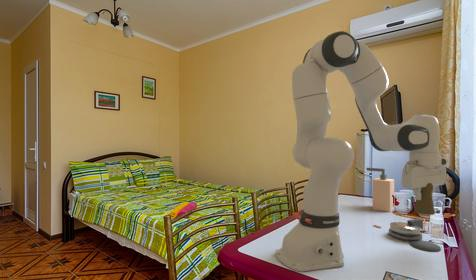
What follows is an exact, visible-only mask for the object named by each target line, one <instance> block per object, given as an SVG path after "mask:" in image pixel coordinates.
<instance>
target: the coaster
mask: <svg viewBox="0 0 476 280" xmlns="http://www.w3.org/2000/svg"><path fill="white" fill-rule="evenodd" d="M409 245H410V246H411V247H413V248H415V249H417V250H420V251H424V252H425V251H426V252H431V253H432V252H434V253H435V252H437V253H438V252H440V251H442V248H441V246H439V245H438V244H436V243H434V242H431V241H428V240H427V241H426V240H423V239H422V240H418V241H410V242H409Z"/></svg>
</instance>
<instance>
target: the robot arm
mask: <svg viewBox="0 0 476 280" xmlns="http://www.w3.org/2000/svg"><path fill="white" fill-rule="evenodd" d="M337 71H340V72H341V73H342V74H343V75H344V76H345V78H346V80H347V82H348V83H349V84H350V87H351V88H352V90H353V93H354V102H355V104H356V107H357V110H358V113H359V114H360V117H361V119H362V121H363V123H364V125H365V127H366V131H367V133H368V137H369V138H368V139H369V142H370V144H371V146H372V147H373V149H375V150H376V151H379V152H391V151H392V152H408V153H409V154H408V157H409V158H408V159H409V160H408V161H407V162H406V163H405V164H404V166H403V169H402V171H401V172H402V173H401V181H400V182H401V186H402V188H405V189H411V190H412V191H413V194H414V199H415V201H416V200H422V199H423V198H422V197H423V195H421V192H420V191H421V187H426V185H427V184H428V183H432V185H433V190H432V191H431V194H432V199H433V198H434V191H436V187H437V186H443V185H445V184H446V180H447V167H446V166H448V159H447V158H445V157H442V156H441V155H440V152H441V151H440V148H439V143H440V139H441V137H440V133H441V132H440V131H441V130H440V124H439V121H438V118H437V117H435V116H434V115H430V114H415V115H412V116H411V118H409V119H408V120H407V121H405V122H402V123H398V124H388V123H386V122H384V120H383V118H382V116H381V113H380V111H379V109H378V106H377V101H378V99H379V98H380V97H381V96H383V94H384V93H385V92H386V90H387V88H388V86H389V76H388V74H387V71H386V70H385V68H384V66H383V65H382V63H381V62H380V60H379V59H378V57H377V56H376V55H375V53H374V52H373V51H372V50H371V49H370V48H369V47H368V46H367V44H365V43H364V42H363V43H362V42H358V41H357V40H356V38H355V36H353V35H352V34H351V33H349V32H347V31H343V30H342V31H335V32H332V33H331V34H328V35H327V36H326V37H324V38H323V39H321V40H318V42H316V43H315V44H314V45H313V46H312V47H311V48H309V49H308V50H307V52H306V53H305V55H304V57H303V60H302V63H300V64H298V65H297V66H296V67H295V68H294V69H293V71H292V74H291V75H292V76H291V88H292V90H291V91H292V98H293V104H294V108H295V109H294V112H295V116H296V140H295V143H294V145H293V147H292V157H293V160H294V161H295V162H296V163H297V164H299V165H300V166H301V167H304V168H305V169H309V170H310V175H309V179H308V181H307V183H306V184H304V186H303V189H302V192H303V193H302V194H303V196H302V197H303V198H302V199H303V201H302V202H303V203H302V205H303V207H302V208H303V209H302V211H301V213H299V212H293V214H292V217H293V219H296V220H298V223H296V224H295V225H294V227H292V229H290V231H288V232H286V234H285V235H284V236H283V239H282V245H281V248H278V249H276V250H275V252H274V256H275V258H276V259H277V260H278V261H279V262H281V264H283V265H284V266H286V267H288V268H289V269H292V270H294V271H296V272H308V271H317V270H324V269H331V268H338V267H343V266H344V265H345V264H344V262H345V261H344V253H343V250H342V249H343V248H342V244H341V238H340V237H341V235H340V231H339V230H340V229H339V225H340V213H339V189H340V184H341V181H342V178H343V177H344V174H345V173H346V172H347V170H349V169H350V168H351V166H352V165H353V163H354V159H355V153H354V152H355V151H354V148H353V147H352V146H351V144H350V143H349V142H348V141H345V140H343V139H339V138H338V137H327V136H326V135H327V134H326V132H327V126H328V124H329V122H330V120H331V118H332V110H331V104H330V99H329V93H328V88H327V76H328V74H330V73H334V72H337Z"/></svg>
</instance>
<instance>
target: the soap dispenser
mask: <svg viewBox="0 0 476 280" xmlns="http://www.w3.org/2000/svg"><path fill="white" fill-rule="evenodd" d="M366 171H371V172H381V174H379V177H376V178H372V180H371V181H372V210H376V211H382V212H386V213H387V212H388V213H391V212H392V211H394V210H395V206H394V207H393V197H392V194H393V193H394V194H395V179H394V178H387V177H388V176H387V174H385V173H386V170H385V168H377V167H366ZM393 209H394V210H393Z"/></svg>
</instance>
